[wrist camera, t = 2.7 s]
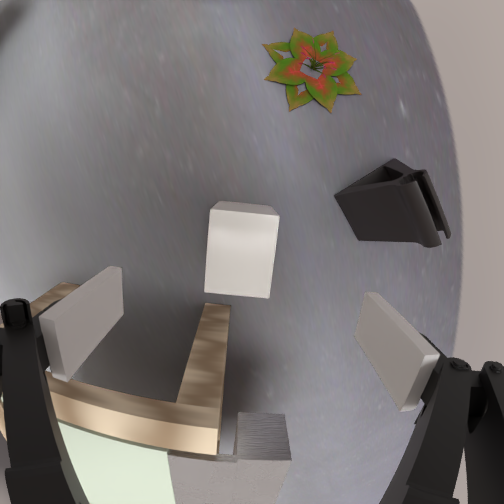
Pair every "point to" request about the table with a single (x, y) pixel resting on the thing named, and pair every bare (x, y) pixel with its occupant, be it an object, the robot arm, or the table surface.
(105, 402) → the trapdoor frame
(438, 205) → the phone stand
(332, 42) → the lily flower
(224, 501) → the trapdoor
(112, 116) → the table surface
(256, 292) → the white rectangular block
